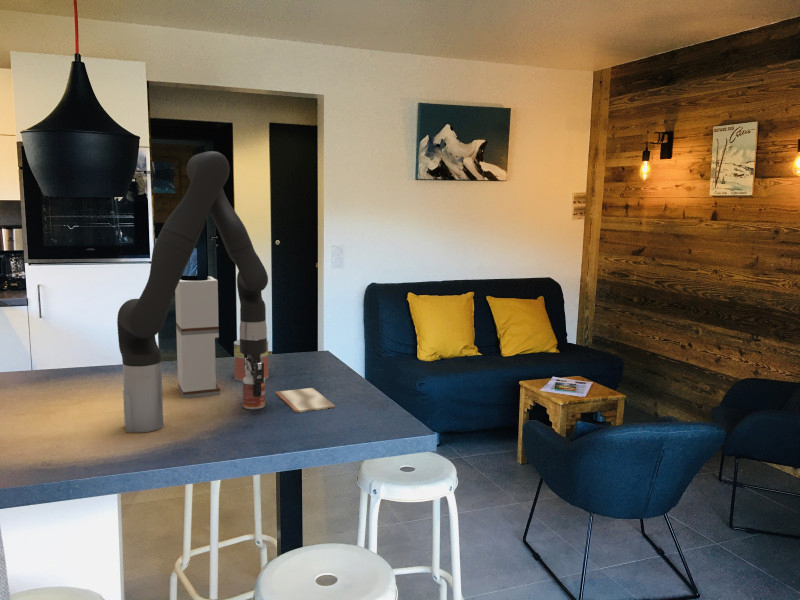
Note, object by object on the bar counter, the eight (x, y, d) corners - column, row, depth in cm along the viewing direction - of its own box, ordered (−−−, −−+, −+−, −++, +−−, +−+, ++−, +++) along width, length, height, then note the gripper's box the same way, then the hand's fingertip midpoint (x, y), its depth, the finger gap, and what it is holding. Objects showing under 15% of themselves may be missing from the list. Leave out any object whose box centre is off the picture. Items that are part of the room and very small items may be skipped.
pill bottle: (264, 409, 184) (264, 371, 182) (242, 410, 183) (241, 372, 182) (265, 403, 190) (265, 366, 188) (244, 403, 189) (243, 366, 188)
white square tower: (219, 394, 197) (217, 280, 192) (183, 398, 193) (180, 281, 187) (213, 385, 207) (210, 276, 202) (178, 388, 203) (174, 277, 198)
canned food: (241, 371, 224) (241, 337, 223) (273, 373, 223) (273, 339, 221) (228, 380, 213) (228, 344, 212) (261, 382, 212) (261, 346, 210)
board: (294, 413, 182) (294, 410, 182) (275, 393, 199) (275, 391, 199) (335, 407, 187) (335, 405, 187) (312, 389, 205) (312, 387, 205)
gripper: (234, 332, 188) (235, 387, 191) (246, 342, 176) (246, 401, 178) (260, 330, 192) (260, 385, 194) (273, 340, 179) (273, 398, 181)
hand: (254, 392), depth 186 cm, fingers open, 6 cm apart
